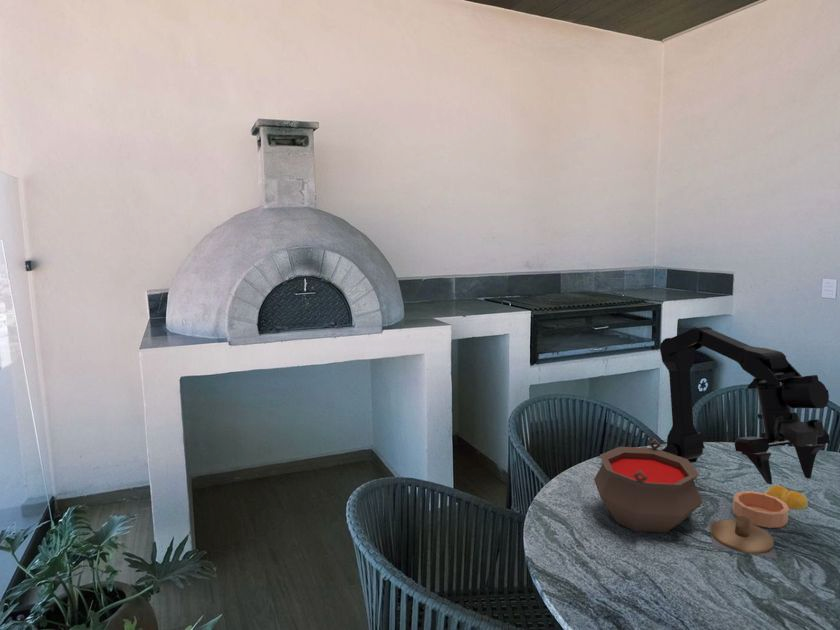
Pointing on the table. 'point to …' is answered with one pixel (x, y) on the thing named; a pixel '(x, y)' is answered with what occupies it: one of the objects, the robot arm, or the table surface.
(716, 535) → the lid
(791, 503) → the bread roll
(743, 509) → the bowl
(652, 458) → the brown soup pot
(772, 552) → the mat
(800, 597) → the table surface
